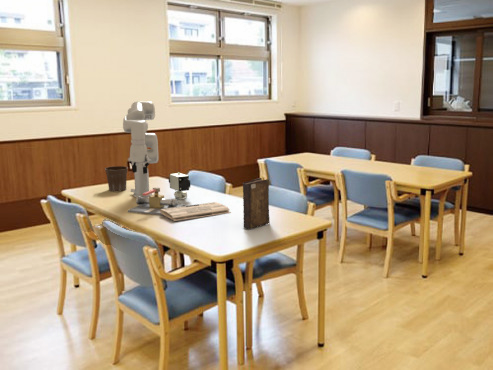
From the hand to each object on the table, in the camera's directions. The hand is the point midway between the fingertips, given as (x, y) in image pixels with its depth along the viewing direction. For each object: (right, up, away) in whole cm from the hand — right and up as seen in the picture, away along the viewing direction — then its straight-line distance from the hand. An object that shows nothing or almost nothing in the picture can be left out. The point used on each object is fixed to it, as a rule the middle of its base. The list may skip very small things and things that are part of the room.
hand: (139, 172), depth 284 cm
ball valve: (+19, -16, +39) cm, 46 cm away
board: (+8, -22, +12) cm, 26 cm away
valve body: (+8, -21, +11) cm, 25 cm away
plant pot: (-31, -11, +67) cm, 75 cm away
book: (+67, -29, -25) cm, 77 cm away
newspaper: (+33, -24, 0) cm, 40 cm away
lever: (+6, -12, +4) cm, 14 cm away
